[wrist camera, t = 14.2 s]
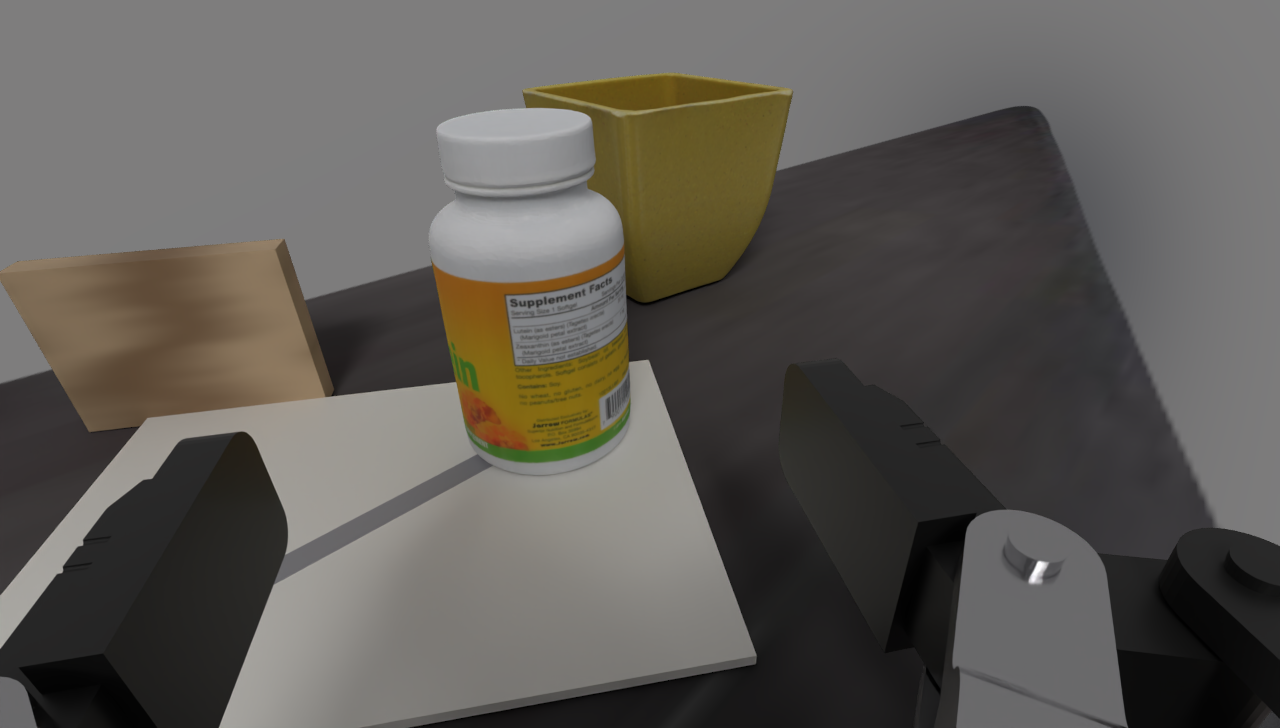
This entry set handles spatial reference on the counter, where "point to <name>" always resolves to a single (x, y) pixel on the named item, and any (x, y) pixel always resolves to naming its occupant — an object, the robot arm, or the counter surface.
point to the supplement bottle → (532, 290)
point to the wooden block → (172, 330)
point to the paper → (447, 563)
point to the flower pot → (679, 169)
